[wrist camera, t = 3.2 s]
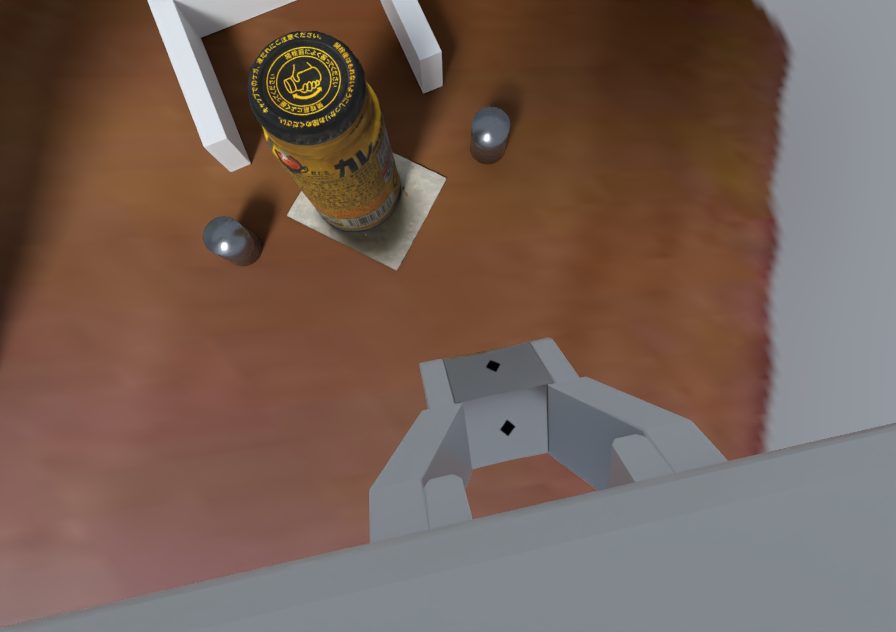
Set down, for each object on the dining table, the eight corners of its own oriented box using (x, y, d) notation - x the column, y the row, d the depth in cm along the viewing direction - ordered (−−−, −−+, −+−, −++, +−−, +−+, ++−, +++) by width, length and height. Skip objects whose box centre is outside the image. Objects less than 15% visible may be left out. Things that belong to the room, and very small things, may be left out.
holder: (442, 85, 33) (441, 51, 30) (230, 172, 32) (204, 147, 29) (378, -52, 35) (370, -100, 31) (174, 28, 34) (142, -12, 31)
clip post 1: (219, 256, 32) (195, 243, 29) (237, 225, 32) (215, 210, 29) (250, 272, 32) (229, 260, 29) (268, 240, 32) (249, 226, 29)
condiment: (339, 127, 33) (275, -15, 21) (446, 179, 32) (443, 63, 20) (287, 216, 32) (191, 121, 20) (397, 271, 32) (364, 206, 20)
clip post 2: (464, 155, 32) (465, 132, 30) (479, 126, 33) (482, 100, 30) (495, 169, 32) (500, 148, 29) (510, 140, 33) (516, 116, 30)
